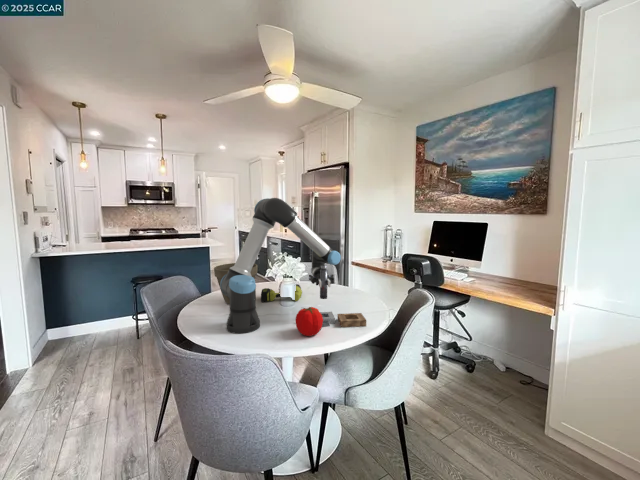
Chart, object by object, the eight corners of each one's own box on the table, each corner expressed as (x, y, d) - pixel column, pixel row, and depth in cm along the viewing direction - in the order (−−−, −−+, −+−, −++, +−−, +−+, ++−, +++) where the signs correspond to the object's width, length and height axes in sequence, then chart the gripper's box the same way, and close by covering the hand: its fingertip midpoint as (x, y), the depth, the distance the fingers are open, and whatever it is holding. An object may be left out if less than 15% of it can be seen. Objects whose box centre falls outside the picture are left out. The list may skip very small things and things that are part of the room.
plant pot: (212, 309, 164) (211, 270, 162) (217, 297, 187) (216, 263, 186) (258, 306, 169) (258, 268, 168) (257, 294, 193) (257, 261, 191)
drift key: (313, 328, 136) (313, 326, 136) (312, 327, 138) (312, 325, 138) (329, 326, 139) (329, 324, 139) (328, 324, 141) (328, 323, 141)
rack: (340, 327, 138) (341, 321, 137) (337, 319, 148) (337, 313, 147) (366, 326, 139) (366, 320, 139) (361, 318, 149) (361, 313, 149)
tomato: (290, 337, 126) (290, 310, 125) (301, 326, 139) (301, 302, 138) (318, 340, 123) (318, 313, 122) (326, 329, 136) (326, 304, 135)
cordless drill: (265, 291, 201) (302, 291, 202) (259, 303, 177) (301, 303, 177) (265, 281, 200) (302, 281, 201) (259, 292, 176) (301, 291, 177)
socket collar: (314, 324, 141) (314, 319, 141) (312, 317, 151) (312, 312, 151) (335, 323, 142) (335, 318, 142) (332, 316, 152) (332, 311, 152)
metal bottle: (320, 299, 144) (320, 266, 143) (319, 297, 147) (319, 265, 146) (327, 298, 144) (328, 266, 143) (326, 296, 148) (327, 265, 147)
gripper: (334, 281, 164) (342, 292, 141) (304, 281, 162) (307, 292, 139) (335, 267, 164) (342, 276, 140) (304, 268, 162) (307, 276, 139)
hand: (325, 284), depth 140 cm, fingers closed on metal bottle, 4 cm apart
